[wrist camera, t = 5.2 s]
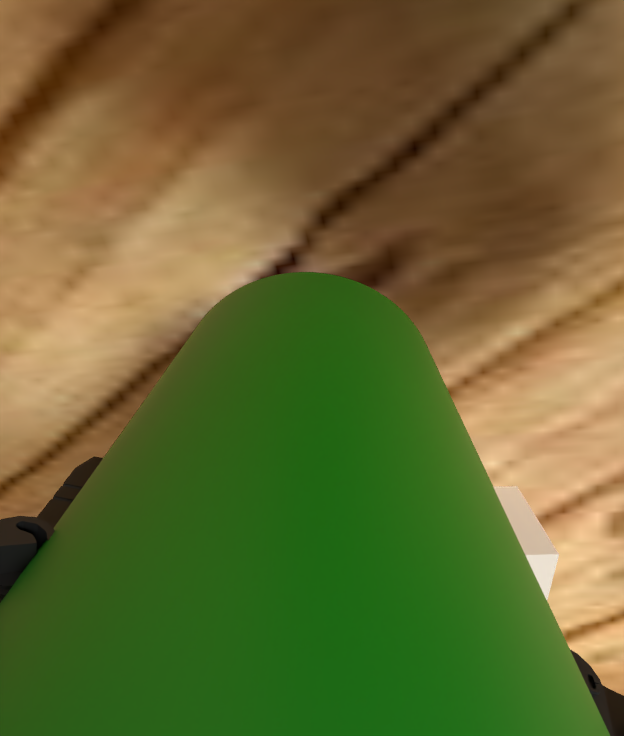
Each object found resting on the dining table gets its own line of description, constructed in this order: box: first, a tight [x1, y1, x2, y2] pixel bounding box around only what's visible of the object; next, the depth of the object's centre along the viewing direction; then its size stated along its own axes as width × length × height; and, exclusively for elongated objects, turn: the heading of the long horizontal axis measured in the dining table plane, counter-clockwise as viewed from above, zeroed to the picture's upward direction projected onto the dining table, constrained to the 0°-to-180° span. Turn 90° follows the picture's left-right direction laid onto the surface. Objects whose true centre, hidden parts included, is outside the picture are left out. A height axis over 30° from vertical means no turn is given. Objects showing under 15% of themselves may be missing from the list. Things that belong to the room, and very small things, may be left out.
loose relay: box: [494, 486, 559, 600], centre depth 30 cm, size 5×7×6 cm
